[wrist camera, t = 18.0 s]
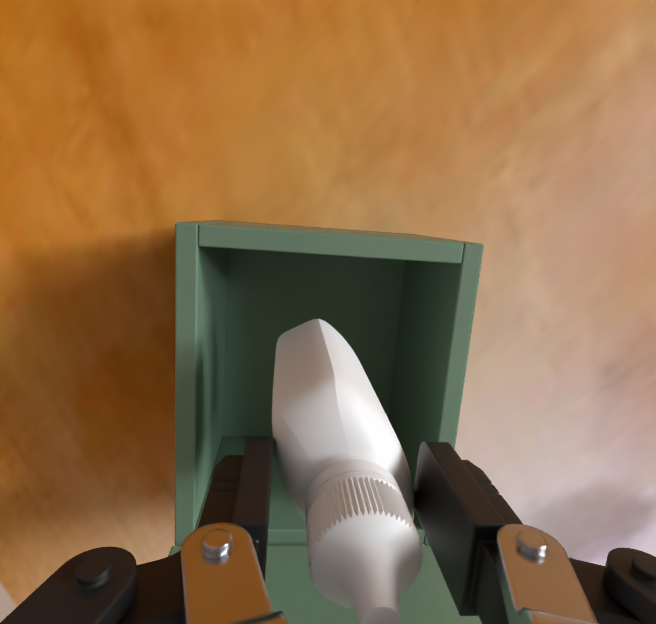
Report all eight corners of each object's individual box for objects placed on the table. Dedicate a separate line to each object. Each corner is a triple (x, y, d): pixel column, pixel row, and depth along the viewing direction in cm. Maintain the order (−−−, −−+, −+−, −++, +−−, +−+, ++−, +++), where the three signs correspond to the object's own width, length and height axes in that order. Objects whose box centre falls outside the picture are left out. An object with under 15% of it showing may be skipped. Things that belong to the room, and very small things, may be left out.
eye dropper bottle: (271, 435, 20) (249, 752, 8) (278, 313, 19) (262, 479, 7) (367, 437, 20) (476, 741, 9) (379, 319, 19) (524, 481, 7)
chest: (215, 220, 27) (174, 222, 17) (418, 234, 28) (485, 244, 19) (211, 440, 30) (174, 546, 20) (394, 445, 31) (441, 546, 22)
